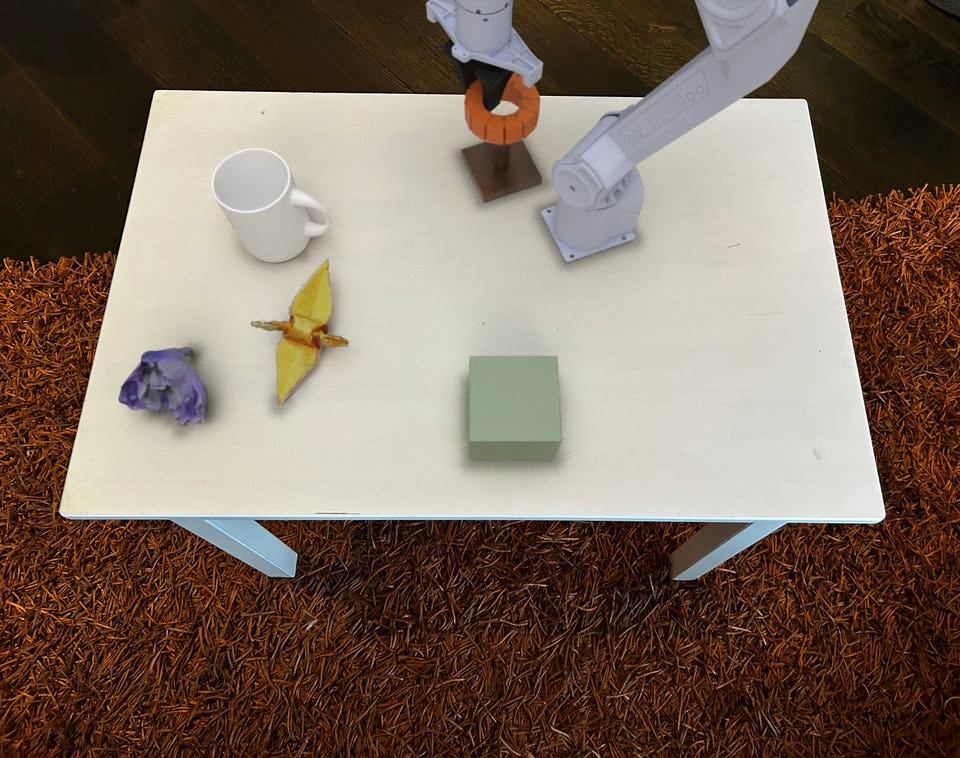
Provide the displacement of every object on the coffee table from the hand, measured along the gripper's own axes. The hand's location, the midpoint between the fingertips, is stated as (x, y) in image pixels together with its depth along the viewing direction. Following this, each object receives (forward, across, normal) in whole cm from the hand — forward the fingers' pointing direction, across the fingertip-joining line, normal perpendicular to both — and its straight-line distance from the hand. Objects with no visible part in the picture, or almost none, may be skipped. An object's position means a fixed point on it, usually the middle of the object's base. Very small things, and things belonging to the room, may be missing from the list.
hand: (482, 99), depth 76 cm
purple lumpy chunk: (+10, -4, -47) cm, 48 cm away
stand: (+10, +3, 0) cm, 10 cm away
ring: (0, +3, 0) cm, 3 cm away
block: (+10, +26, -25) cm, 38 cm away
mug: (+10, -10, -25) cm, 28 cm away
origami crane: (+10, +2, -33) cm, 34 cm away
